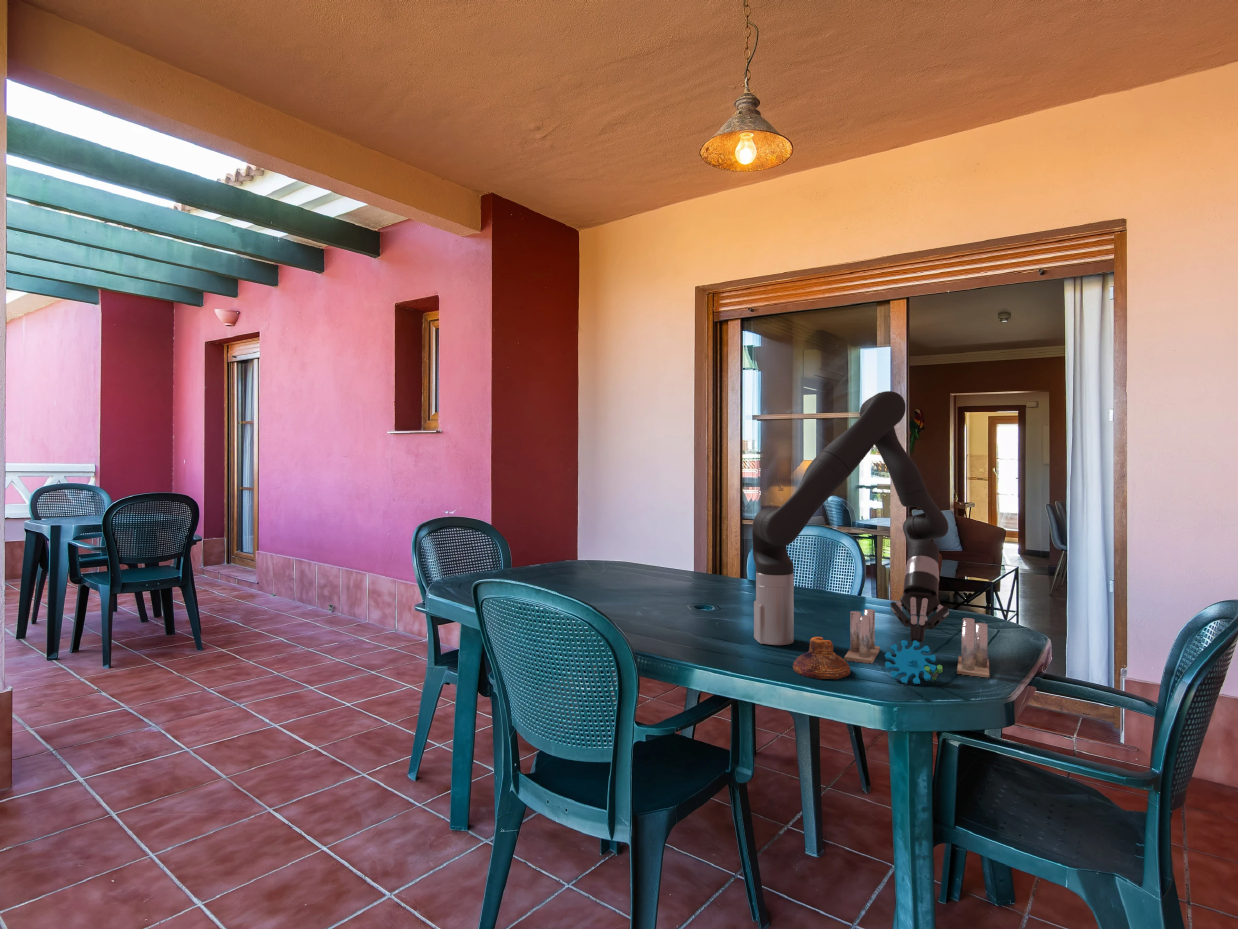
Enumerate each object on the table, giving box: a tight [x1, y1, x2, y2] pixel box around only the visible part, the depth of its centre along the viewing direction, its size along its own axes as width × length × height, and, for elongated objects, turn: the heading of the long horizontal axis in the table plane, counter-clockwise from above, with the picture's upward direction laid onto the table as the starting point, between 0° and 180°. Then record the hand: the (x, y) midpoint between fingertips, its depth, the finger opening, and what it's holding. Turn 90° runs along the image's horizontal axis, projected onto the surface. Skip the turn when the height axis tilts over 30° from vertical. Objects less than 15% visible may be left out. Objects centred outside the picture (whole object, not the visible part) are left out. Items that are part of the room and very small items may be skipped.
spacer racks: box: [843, 645, 990, 678], centre depth 156 cm, size 13×29×1 cm, turn 62°
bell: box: [792, 636, 851, 680], centre depth 149 cm, size 12×12×7 cm
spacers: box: [849, 608, 988, 671], centre depth 156 cm, size 10×28×9 cm, turn 62°
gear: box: [884, 639, 944, 685], centre depth 144 cm, size 11×6×10 cm
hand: (916, 642), depth 156 cm, fingers closed
